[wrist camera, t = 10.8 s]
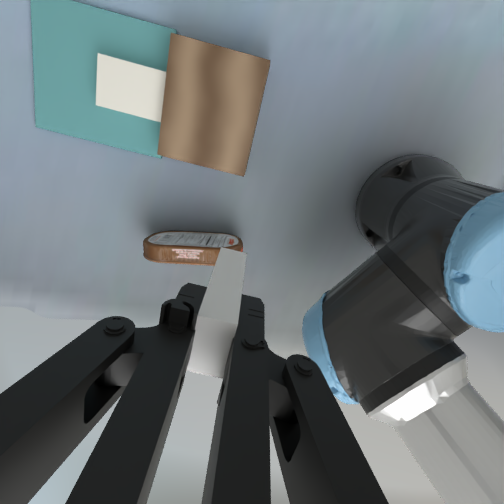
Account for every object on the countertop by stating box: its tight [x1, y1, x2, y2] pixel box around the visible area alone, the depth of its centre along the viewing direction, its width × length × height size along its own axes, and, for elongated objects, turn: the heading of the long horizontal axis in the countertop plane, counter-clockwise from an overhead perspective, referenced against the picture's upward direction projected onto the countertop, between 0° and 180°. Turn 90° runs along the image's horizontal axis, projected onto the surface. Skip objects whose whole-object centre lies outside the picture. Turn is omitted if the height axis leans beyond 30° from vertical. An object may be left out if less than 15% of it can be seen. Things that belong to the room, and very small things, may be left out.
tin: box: [143, 231, 243, 266], centre depth 45 cm, size 15×3×8 cm, turn 88°
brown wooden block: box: [157, 33, 270, 177], centre depth 40 cm, size 12×14×4 cm
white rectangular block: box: [96, 53, 166, 122], centre depth 40 cm, size 9×6×2 cm, turn 76°
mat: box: [31, 0, 177, 159], centre depth 40 cm, size 18×16×1 cm
